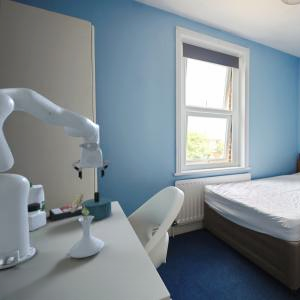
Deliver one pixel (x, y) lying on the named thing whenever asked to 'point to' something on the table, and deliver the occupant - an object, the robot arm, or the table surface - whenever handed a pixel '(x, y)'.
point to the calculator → (64, 213)
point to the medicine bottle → (35, 216)
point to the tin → (99, 211)
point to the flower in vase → (85, 234)
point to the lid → (96, 201)
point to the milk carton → (36, 195)
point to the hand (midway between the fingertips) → (91, 178)
